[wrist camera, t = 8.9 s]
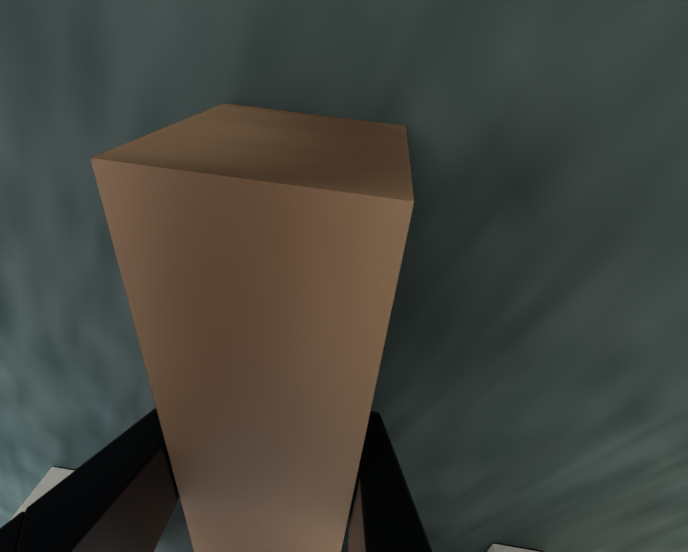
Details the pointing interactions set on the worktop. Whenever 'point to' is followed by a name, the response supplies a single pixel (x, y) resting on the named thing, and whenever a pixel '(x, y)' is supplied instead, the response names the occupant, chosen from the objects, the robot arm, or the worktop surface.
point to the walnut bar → (261, 308)
